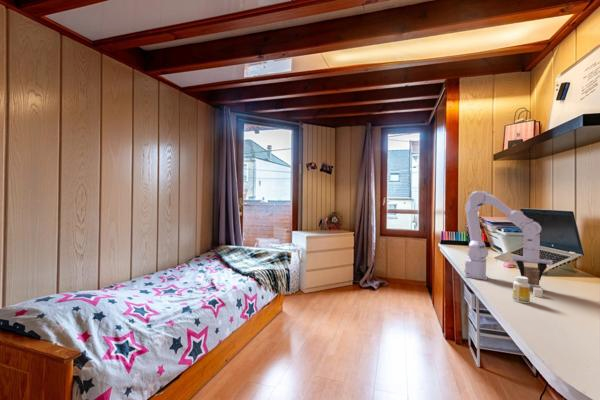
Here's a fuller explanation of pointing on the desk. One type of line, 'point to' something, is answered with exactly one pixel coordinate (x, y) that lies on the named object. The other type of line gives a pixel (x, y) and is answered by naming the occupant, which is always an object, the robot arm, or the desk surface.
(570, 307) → the desk surface
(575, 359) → the desk surface
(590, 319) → the desk surface
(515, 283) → the supplement bottle
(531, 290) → the post
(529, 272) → the brown rectangular block
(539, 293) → the off-white cube
